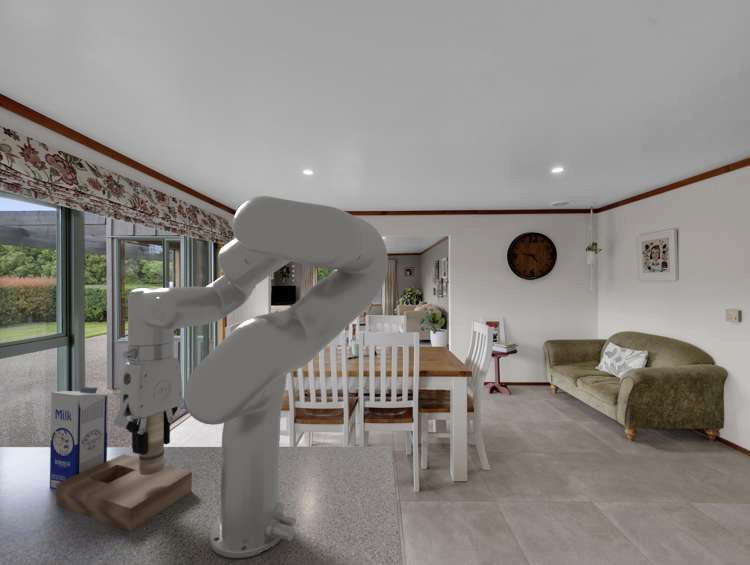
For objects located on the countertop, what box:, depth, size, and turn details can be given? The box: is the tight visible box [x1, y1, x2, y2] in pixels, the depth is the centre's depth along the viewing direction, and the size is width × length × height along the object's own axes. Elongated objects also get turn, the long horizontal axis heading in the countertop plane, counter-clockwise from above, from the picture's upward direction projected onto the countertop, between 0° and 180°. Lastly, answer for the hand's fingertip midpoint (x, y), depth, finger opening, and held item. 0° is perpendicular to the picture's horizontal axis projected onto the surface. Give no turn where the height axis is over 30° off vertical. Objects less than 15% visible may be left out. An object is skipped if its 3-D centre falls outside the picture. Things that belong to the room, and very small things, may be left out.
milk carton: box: [49, 386, 109, 490], centre depth 78 cm, size 7×7×20 cm
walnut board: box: [55, 453, 193, 532], centre depth 73 cm, size 20×13×4 cm, turn 70°
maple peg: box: [138, 412, 165, 475], centre depth 70 cm, size 4×4×12 cm
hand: (151, 446), depth 70 cm, fingers closed on maple peg, 4 cm apart
